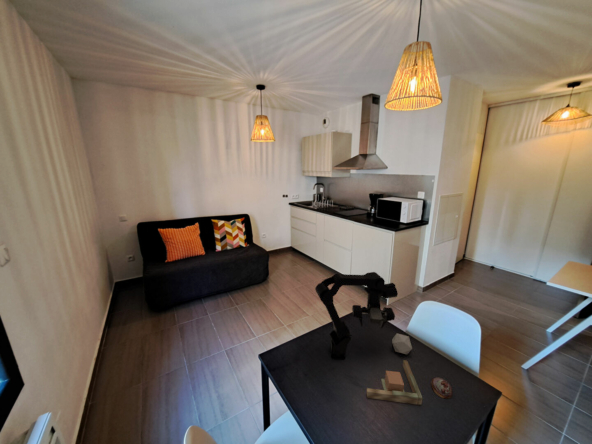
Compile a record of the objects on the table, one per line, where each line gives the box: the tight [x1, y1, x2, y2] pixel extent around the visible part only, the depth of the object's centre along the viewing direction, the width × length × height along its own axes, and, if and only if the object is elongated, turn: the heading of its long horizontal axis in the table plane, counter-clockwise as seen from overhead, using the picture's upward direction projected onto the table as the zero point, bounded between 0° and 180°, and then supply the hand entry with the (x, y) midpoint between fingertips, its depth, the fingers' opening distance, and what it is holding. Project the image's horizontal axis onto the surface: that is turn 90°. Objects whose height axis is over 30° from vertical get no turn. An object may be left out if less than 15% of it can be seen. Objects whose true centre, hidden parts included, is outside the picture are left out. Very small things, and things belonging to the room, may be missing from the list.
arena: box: [366, 359, 423, 406], centre depth 94 cm, size 20×17×4 cm
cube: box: [384, 370, 405, 392], centre depth 90 cm, size 6×6×6 cm
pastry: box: [430, 376, 454, 399], centre depth 90 cm, size 8×8×5 cm
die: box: [391, 333, 413, 355], centre depth 108 cm, size 8×9×10 cm
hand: (371, 327), depth 108 cm, fingers open, 9 cm apart
